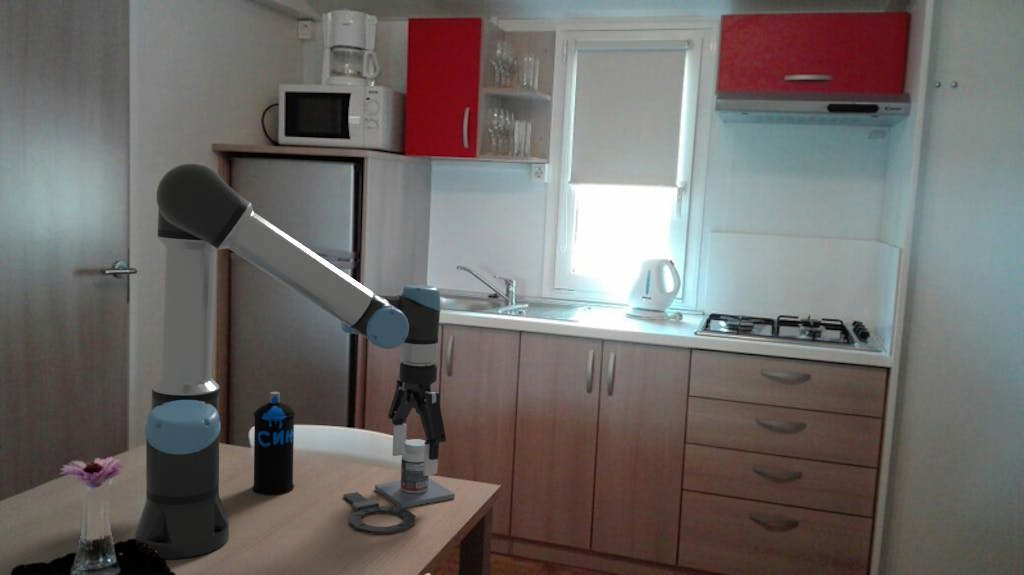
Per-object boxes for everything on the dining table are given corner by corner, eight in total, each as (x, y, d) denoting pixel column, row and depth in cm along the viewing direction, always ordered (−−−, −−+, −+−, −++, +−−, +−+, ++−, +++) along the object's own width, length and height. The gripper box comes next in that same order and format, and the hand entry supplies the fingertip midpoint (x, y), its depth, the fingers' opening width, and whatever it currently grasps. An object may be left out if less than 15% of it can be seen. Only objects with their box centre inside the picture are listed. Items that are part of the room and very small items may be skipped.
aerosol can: (250, 483, 176) (251, 389, 174) (290, 479, 180) (292, 387, 177) (254, 497, 169) (256, 398, 167) (297, 493, 172) (298, 396, 170)
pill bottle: (404, 483, 178) (405, 437, 176) (430, 485, 177) (432, 439, 176) (397, 493, 172) (399, 445, 171) (425, 495, 171) (427, 447, 170)
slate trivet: (401, 508, 166) (401, 503, 166) (375, 489, 176) (375, 484, 176) (454, 498, 173) (454, 493, 173) (426, 480, 183) (426, 476, 183)
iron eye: (366, 538, 152) (366, 533, 151) (322, 501, 168) (322, 496, 168) (426, 526, 158) (426, 521, 158) (377, 491, 175) (377, 486, 175)
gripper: (466, 373, 164) (461, 480, 166) (406, 349, 184) (402, 445, 186) (432, 376, 159) (427, 486, 162) (375, 351, 180) (371, 449, 182)
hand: (414, 464), depth 174 cm, fingers open, 13 cm apart
